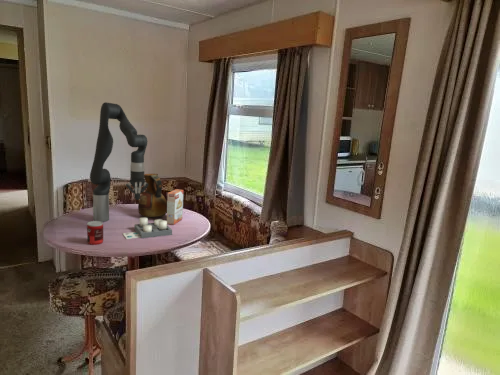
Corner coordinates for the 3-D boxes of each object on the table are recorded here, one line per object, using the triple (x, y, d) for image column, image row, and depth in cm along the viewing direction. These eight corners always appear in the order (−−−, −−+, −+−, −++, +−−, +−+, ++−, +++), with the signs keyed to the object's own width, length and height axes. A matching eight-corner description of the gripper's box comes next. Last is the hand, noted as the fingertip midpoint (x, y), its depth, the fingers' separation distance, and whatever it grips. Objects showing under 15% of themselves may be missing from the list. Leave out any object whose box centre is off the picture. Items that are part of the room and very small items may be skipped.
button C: (144, 235, 203) (144, 227, 202) (142, 232, 207) (142, 225, 206) (152, 234, 206) (152, 226, 205) (150, 231, 210) (150, 224, 209)
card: (126, 239, 198) (126, 238, 198) (123, 234, 206) (123, 233, 205) (142, 237, 203) (142, 236, 203) (138, 232, 210) (138, 231, 210)
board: (141, 238, 201) (141, 233, 200) (134, 229, 215) (134, 224, 214) (172, 234, 210) (172, 229, 210) (163, 226, 224) (163, 221, 224)
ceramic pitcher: (154, 210, 257) (155, 170, 251) (173, 216, 246) (175, 174, 240) (132, 215, 241) (132, 172, 235) (151, 222, 230) (151, 177, 224)
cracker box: (174, 225, 228) (175, 193, 224) (166, 224, 229) (166, 192, 225) (183, 219, 242) (184, 189, 237) (174, 218, 243) (175, 188, 238)
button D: (159, 230, 207) (160, 222, 206) (157, 227, 211) (157, 220, 210) (167, 229, 210) (168, 222, 209) (165, 227, 214) (165, 219, 213)
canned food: (90, 239, 194) (89, 220, 191) (105, 240, 194) (105, 221, 192) (85, 244, 186) (84, 224, 184) (100, 245, 187) (100, 225, 185)
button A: (140, 227, 210) (140, 219, 209) (138, 224, 214) (138, 217, 213) (148, 226, 213) (148, 219, 212) (146, 224, 217) (146, 217, 216)
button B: (155, 229, 215) (155, 221, 214) (153, 226, 219) (153, 219, 218) (163, 228, 218) (163, 221, 217) (160, 225, 222) (161, 218, 221)
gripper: (147, 168, 206) (146, 197, 210) (123, 169, 199) (123, 198, 203) (150, 170, 200) (150, 200, 204) (126, 171, 193) (126, 201, 197)
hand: (137, 199), depth 203 cm, fingers closed
